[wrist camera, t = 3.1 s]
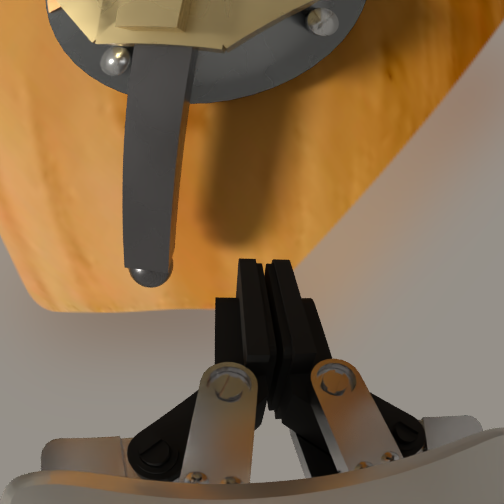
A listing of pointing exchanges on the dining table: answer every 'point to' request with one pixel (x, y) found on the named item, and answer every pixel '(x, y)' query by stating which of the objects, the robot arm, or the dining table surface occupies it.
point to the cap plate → (229, 64)
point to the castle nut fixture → (164, 101)
